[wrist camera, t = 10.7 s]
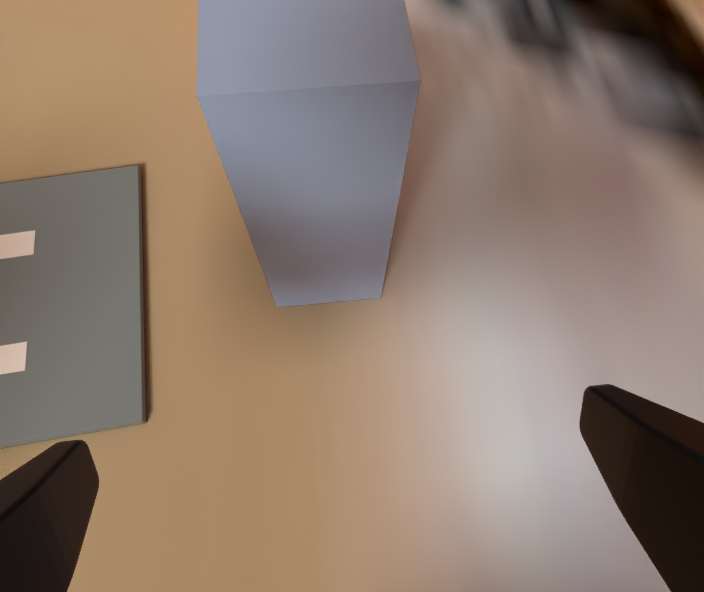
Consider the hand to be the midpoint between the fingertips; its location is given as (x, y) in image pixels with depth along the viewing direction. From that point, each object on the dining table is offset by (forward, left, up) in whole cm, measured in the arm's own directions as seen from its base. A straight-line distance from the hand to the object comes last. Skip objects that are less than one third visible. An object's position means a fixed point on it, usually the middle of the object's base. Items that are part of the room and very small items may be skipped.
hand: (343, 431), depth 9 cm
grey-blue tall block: (+9, -1, -10) cm, 14 cm away
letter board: (+9, +15, -10) cm, 21 cm away
